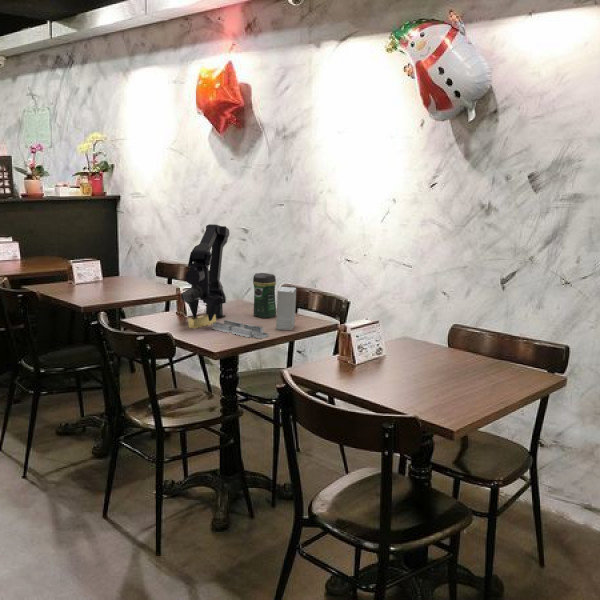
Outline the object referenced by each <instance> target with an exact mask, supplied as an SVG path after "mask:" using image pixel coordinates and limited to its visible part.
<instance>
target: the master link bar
mask: <svg viewBox="0 0 600 600" xmlns="http://www.w3.org/2000/svg"><path fill="white" fill-rule="evenodd" d="M214 322H217V318H216V314H214V316H213V318H212V320H211V321H209V318H208V314H206V313H205V314H202V315H201V314H200V315H196V317H193V316H192V317H188V329H192V328H193V330H195V329H198V327H199V328H203V327H202V326H204V327H207V326H206V325H208V326H210V324H212V325H213V323H214ZM194 328H195V329H194Z"/></svg>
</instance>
